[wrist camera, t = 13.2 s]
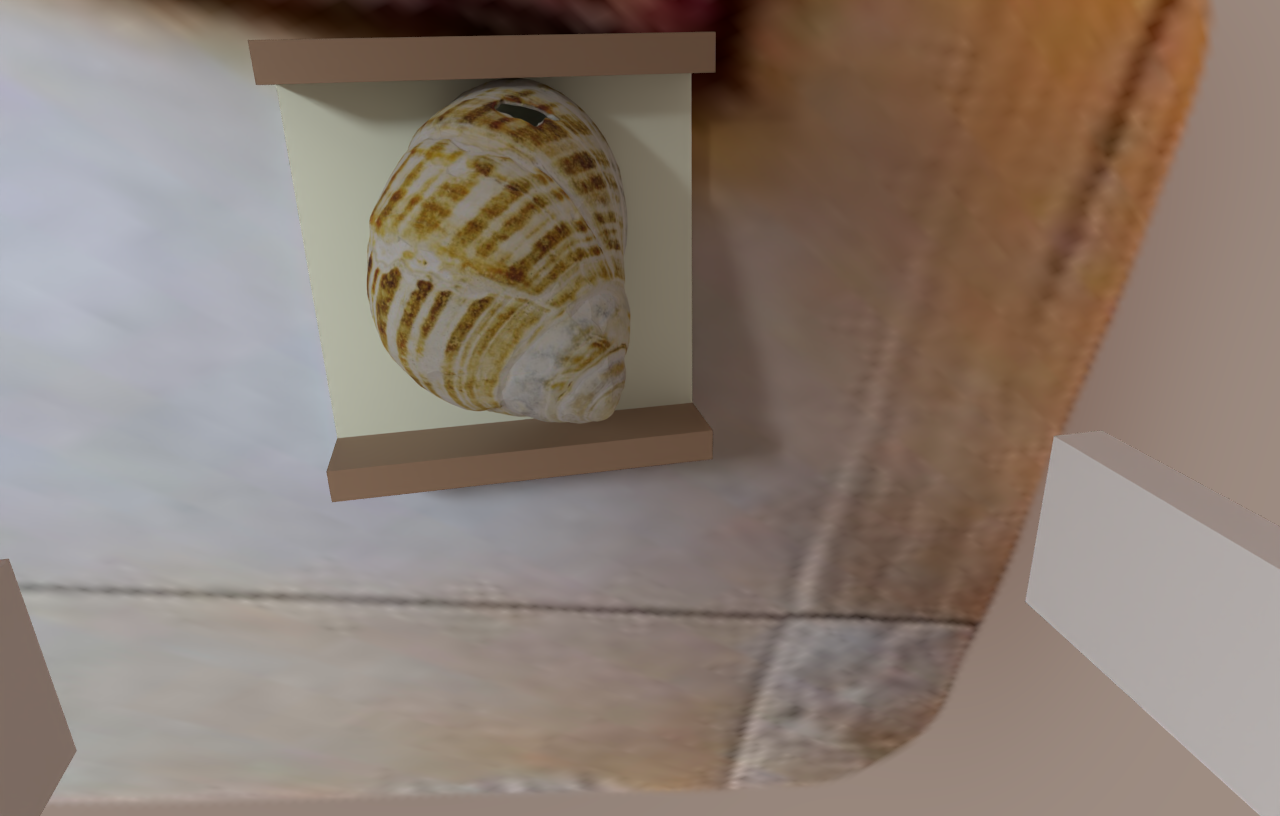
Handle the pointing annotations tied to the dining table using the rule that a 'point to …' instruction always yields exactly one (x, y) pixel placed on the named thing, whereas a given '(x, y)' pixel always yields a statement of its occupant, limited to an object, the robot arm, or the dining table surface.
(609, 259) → the seashell
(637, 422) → the cradle
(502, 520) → the dining table surface
